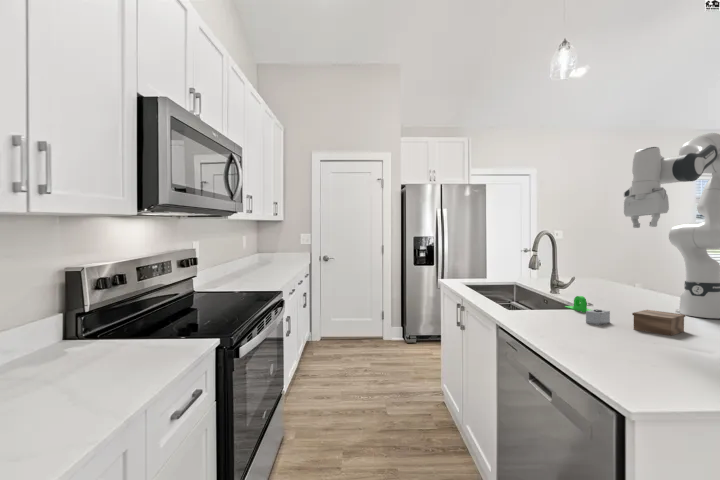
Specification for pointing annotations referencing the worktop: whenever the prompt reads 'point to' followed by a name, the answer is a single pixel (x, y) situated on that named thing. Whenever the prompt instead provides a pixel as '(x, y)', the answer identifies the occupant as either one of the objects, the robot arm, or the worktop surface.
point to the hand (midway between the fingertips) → (644, 227)
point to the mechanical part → (579, 304)
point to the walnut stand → (659, 322)
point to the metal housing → (597, 317)
